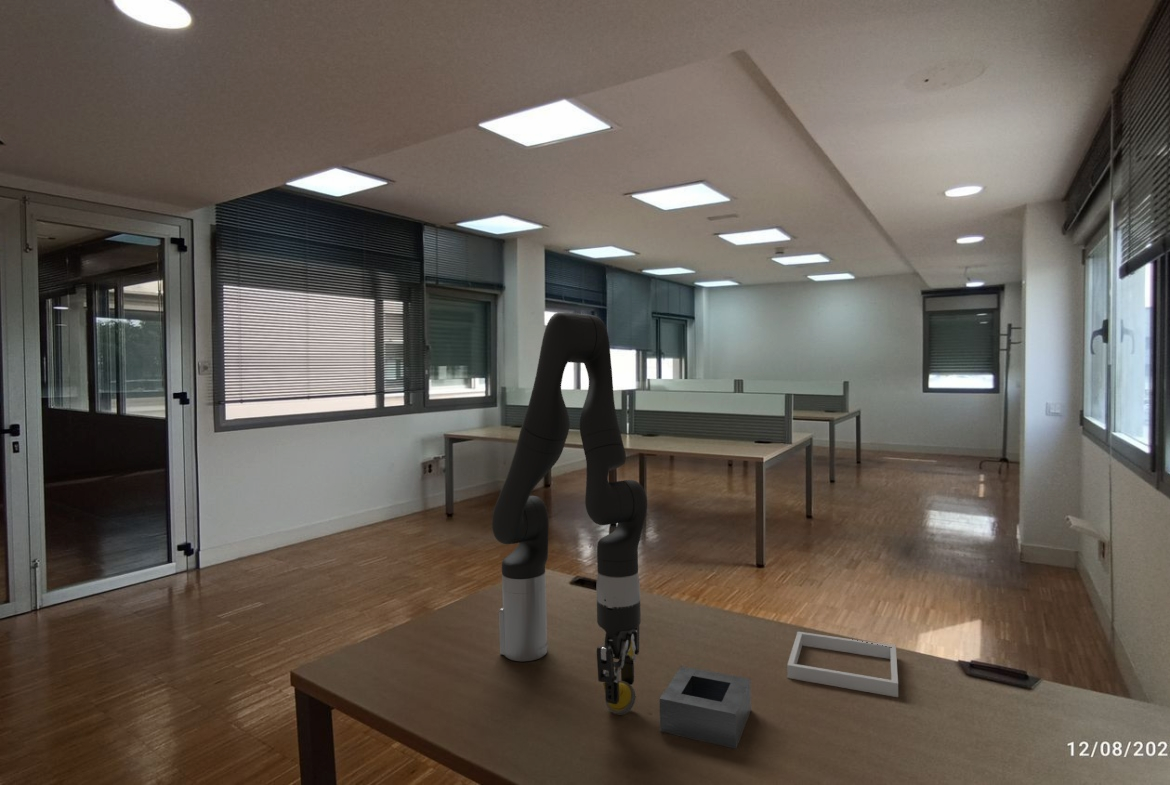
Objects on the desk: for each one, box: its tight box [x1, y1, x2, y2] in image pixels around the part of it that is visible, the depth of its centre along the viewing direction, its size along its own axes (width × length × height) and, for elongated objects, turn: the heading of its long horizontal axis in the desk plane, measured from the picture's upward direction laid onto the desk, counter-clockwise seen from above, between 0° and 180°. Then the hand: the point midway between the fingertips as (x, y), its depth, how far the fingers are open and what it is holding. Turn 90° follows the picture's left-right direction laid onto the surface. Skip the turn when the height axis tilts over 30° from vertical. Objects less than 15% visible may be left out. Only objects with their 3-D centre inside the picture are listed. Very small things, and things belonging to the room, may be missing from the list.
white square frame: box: [786, 631, 899, 698], centre depth 123 cm, size 19×17×2 cm
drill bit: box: [602, 680, 637, 716], centre depth 108 cm, size 5×5×10 cm
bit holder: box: [659, 665, 752, 750], centre depth 106 cm, size 12×12×6 cm
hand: (620, 692), depth 108 cm, fingers closed on drill bit, 6 cm apart
